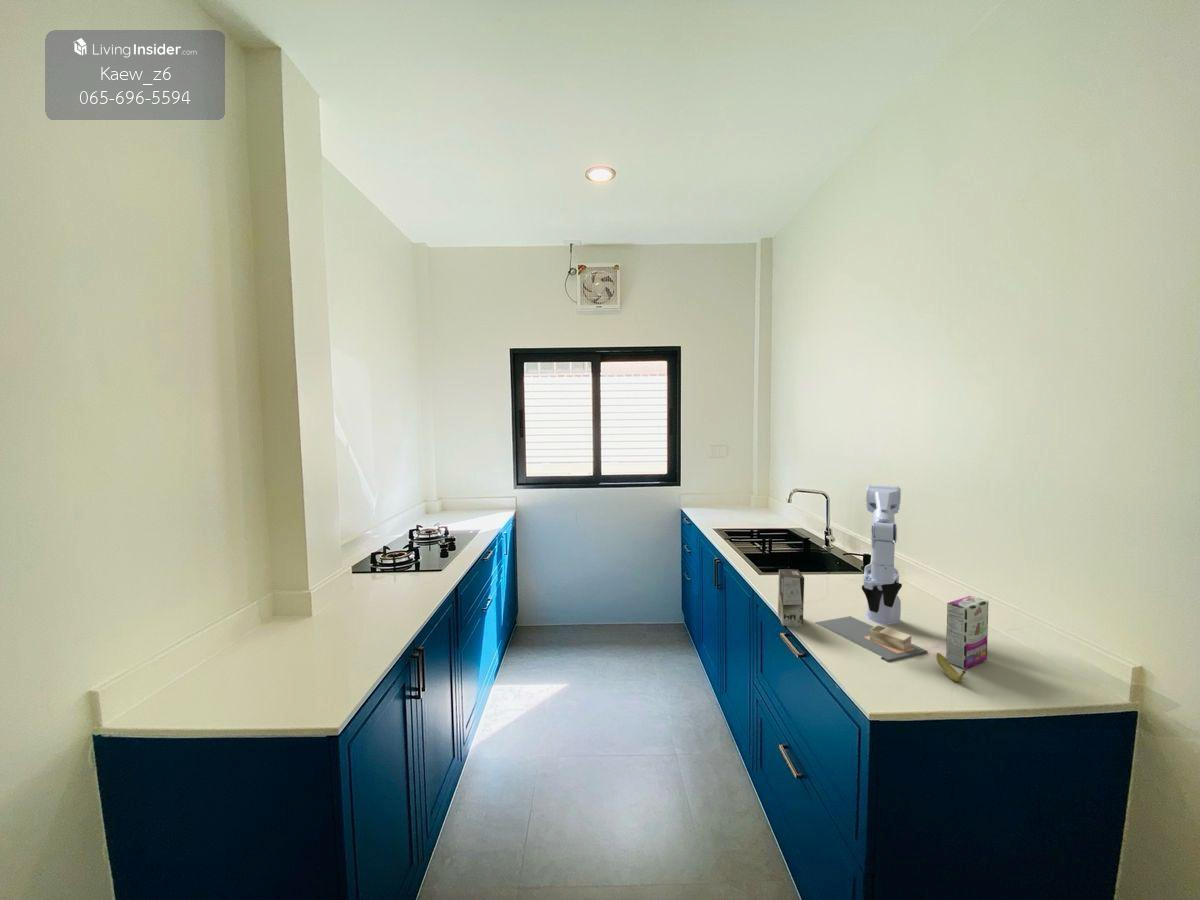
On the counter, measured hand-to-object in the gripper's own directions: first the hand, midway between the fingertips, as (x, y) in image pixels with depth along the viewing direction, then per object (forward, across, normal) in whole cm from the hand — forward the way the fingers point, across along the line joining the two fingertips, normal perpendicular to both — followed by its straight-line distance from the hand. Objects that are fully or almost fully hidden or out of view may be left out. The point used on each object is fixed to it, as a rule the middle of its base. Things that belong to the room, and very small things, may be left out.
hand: (881, 608), depth 144 cm
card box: (+9, +1, +3) cm, 9 cm away
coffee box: (+10, +12, -22) cm, 27 cm away
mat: (+9, +2, -3) cm, 10 cm away
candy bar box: (+10, -7, +19) cm, 22 cm away
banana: (+10, +6, +21) cm, 24 cm away
